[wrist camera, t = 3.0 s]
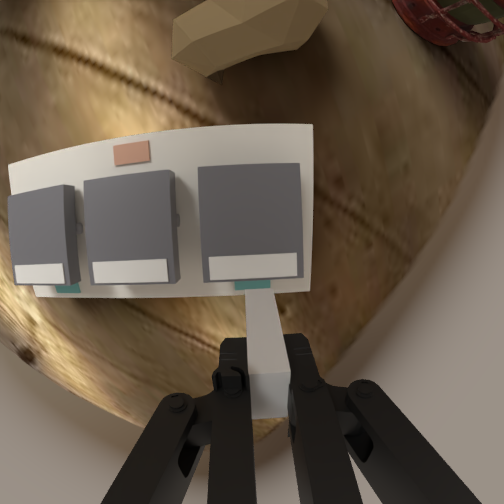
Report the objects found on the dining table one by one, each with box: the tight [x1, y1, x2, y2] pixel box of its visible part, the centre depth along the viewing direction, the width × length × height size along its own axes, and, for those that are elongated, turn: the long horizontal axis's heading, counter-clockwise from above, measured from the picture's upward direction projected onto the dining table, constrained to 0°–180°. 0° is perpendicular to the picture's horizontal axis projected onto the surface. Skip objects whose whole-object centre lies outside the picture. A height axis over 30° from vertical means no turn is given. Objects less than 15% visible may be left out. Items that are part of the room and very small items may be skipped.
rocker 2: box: [198, 163, 304, 283], centre depth 21 cm, size 8×7×2 cm
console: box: [8, 124, 313, 298], centre depth 25 cm, size 14×28×6 cm, turn 92°
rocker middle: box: [84, 169, 181, 285], centre depth 21 cm, size 8×7×2 cm
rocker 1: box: [8, 184, 81, 286], centre depth 20 cm, size 8×7×2 cm
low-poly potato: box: [171, 0, 328, 85], centre depth 17 cm, size 15×11×12 cm
